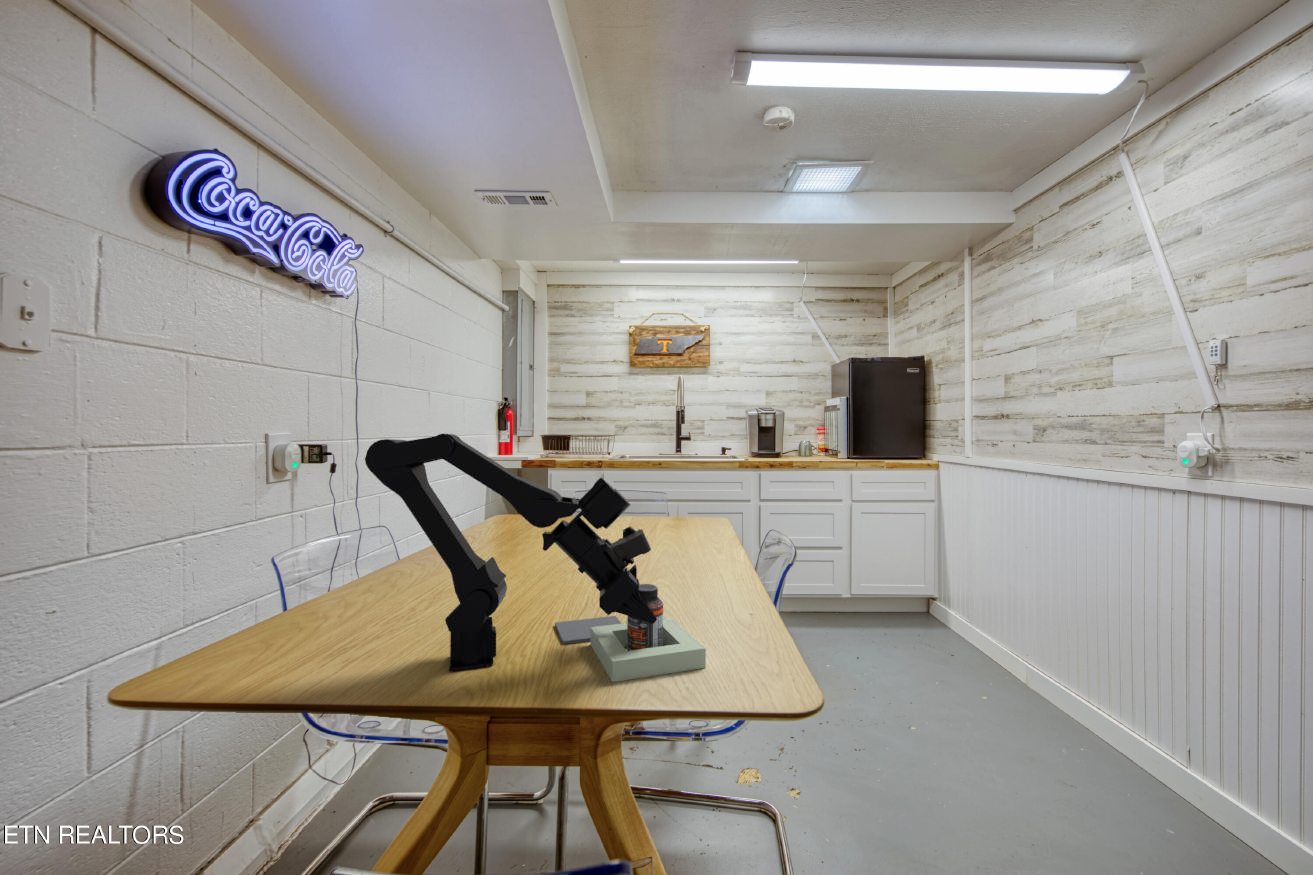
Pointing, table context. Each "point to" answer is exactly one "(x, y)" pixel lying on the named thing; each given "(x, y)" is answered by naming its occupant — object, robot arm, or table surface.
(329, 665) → the table surface
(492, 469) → the robot arm
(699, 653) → the square frame
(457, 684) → the table surface
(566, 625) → the mat
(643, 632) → the supplement bottle
